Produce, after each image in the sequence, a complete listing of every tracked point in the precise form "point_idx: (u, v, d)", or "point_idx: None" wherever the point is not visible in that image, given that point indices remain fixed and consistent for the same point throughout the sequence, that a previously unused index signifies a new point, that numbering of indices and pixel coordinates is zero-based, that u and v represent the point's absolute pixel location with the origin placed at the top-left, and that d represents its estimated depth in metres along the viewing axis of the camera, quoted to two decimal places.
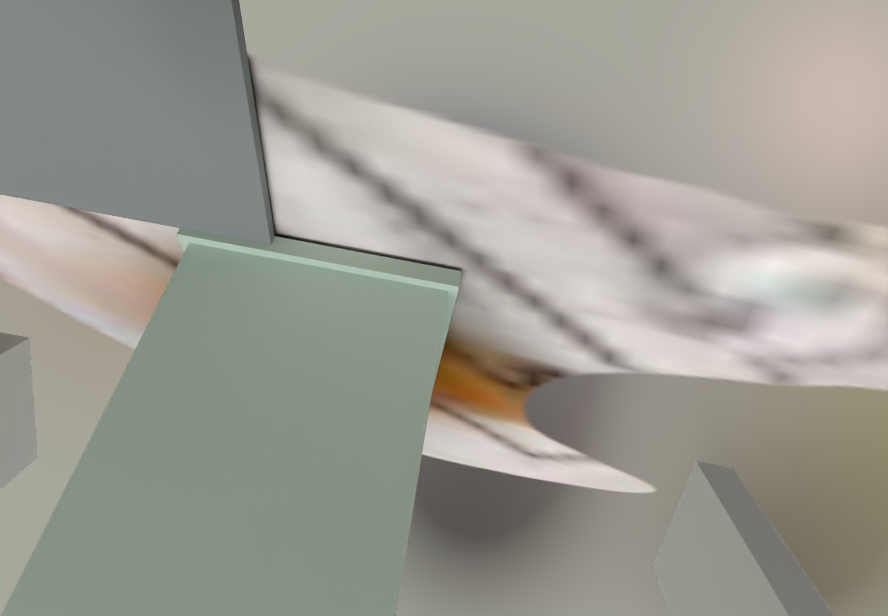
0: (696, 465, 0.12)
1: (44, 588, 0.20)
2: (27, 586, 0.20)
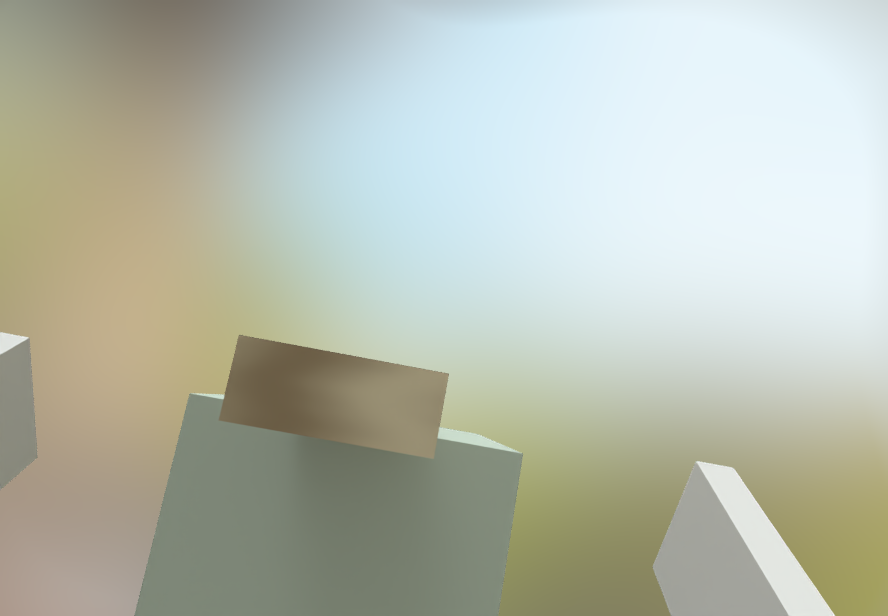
0: (696, 465, 0.12)
1: None
2: None
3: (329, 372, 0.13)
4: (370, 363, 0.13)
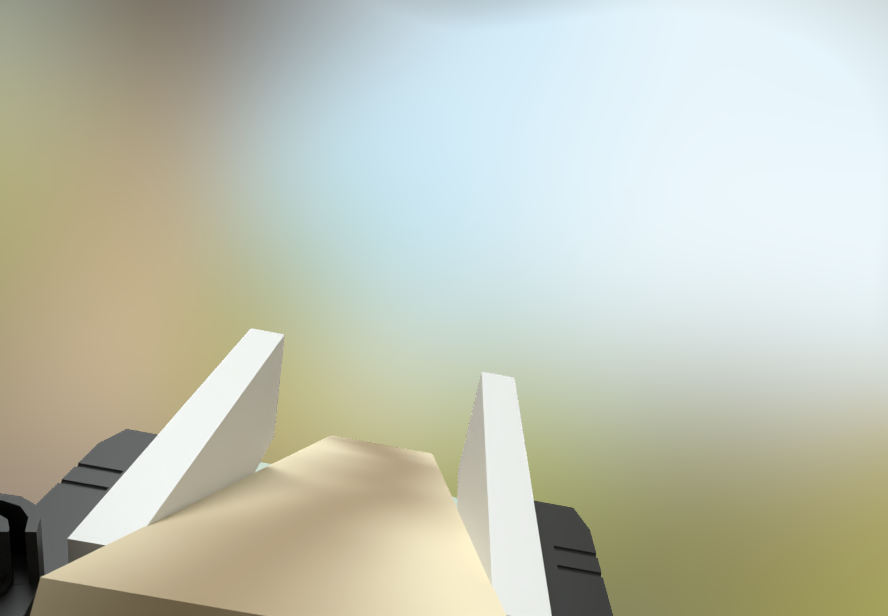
0: (481, 375, 0.13)
1: None
2: None
3: None
4: None
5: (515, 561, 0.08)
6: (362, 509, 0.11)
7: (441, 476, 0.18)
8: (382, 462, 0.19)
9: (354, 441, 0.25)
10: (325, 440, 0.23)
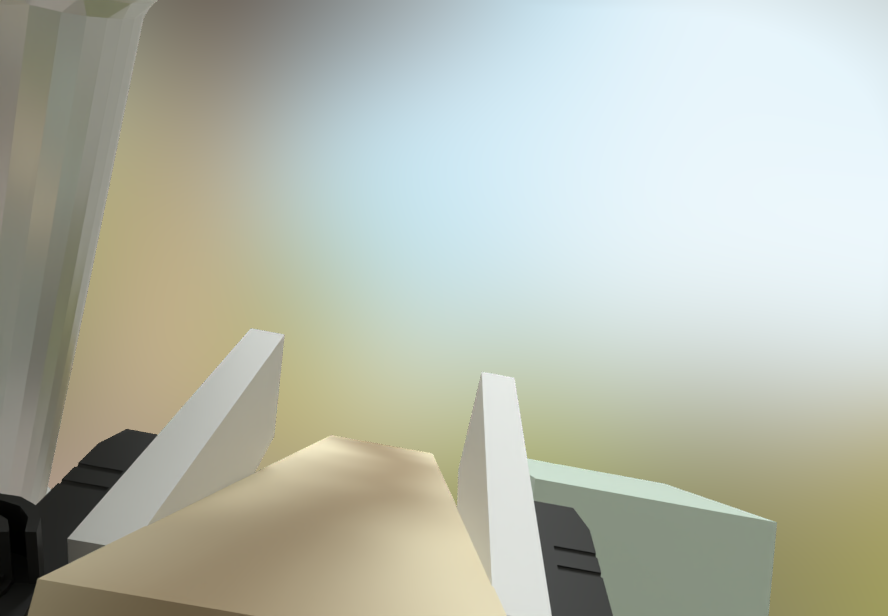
0: (481, 375, 0.13)
1: None
2: None
3: None
4: None
5: (515, 561, 0.08)
6: (362, 509, 0.11)
7: (441, 476, 0.18)
8: (382, 462, 0.19)
9: (354, 441, 0.25)
10: (325, 440, 0.23)
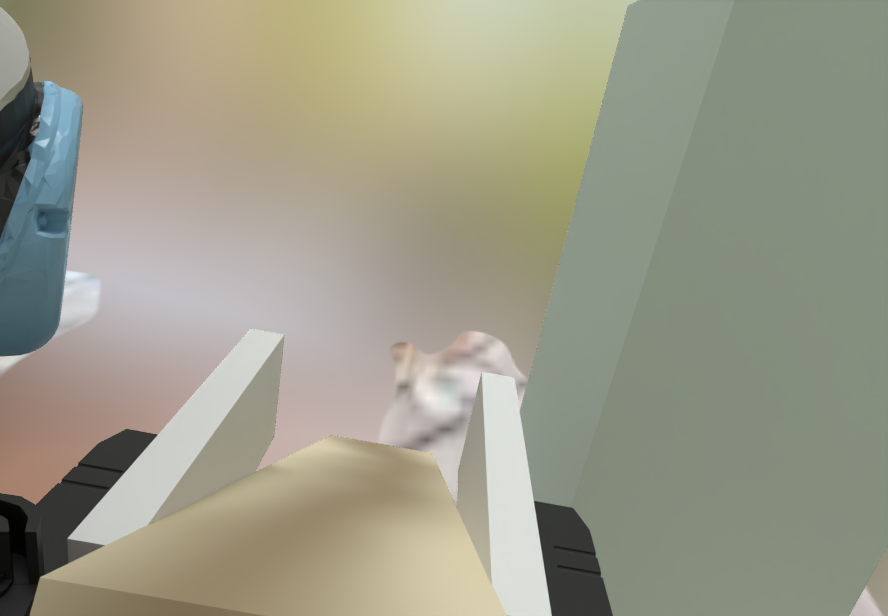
0: (481, 375, 0.13)
1: (604, 371, 0.21)
2: (608, 378, 0.21)
3: None
4: None
5: (515, 561, 0.08)
6: (362, 509, 0.11)
7: (441, 476, 0.18)
8: (382, 462, 0.19)
9: (354, 441, 0.25)
10: (325, 440, 0.23)
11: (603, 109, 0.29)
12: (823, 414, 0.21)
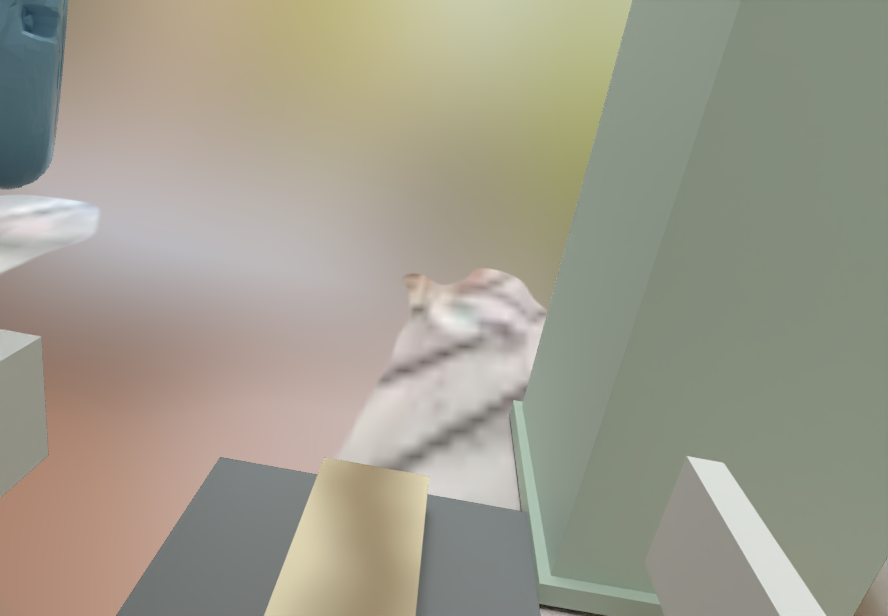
0: (687, 460, 0.12)
1: (673, 170, 0.19)
2: (679, 172, 0.18)
3: None
4: None
5: None
6: None
7: None
8: (355, 600, 0.19)
9: (346, 476, 0.24)
10: (310, 504, 0.22)
11: None
12: None
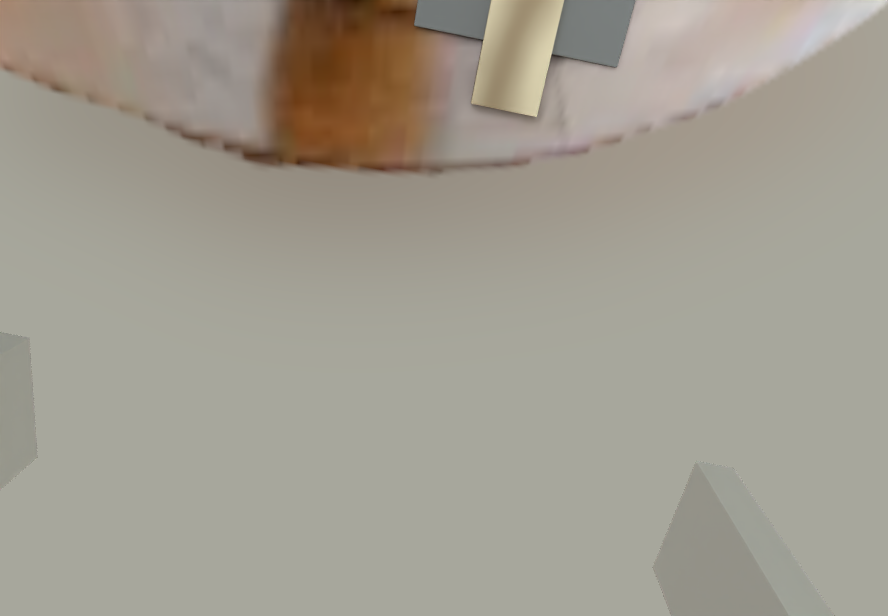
0: (696, 465, 0.12)
1: None
2: None
3: None
4: (512, 111, 0.40)
5: None
6: (528, 18, 0.38)
7: None
8: None
9: None
10: None
11: None
12: None
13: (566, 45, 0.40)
